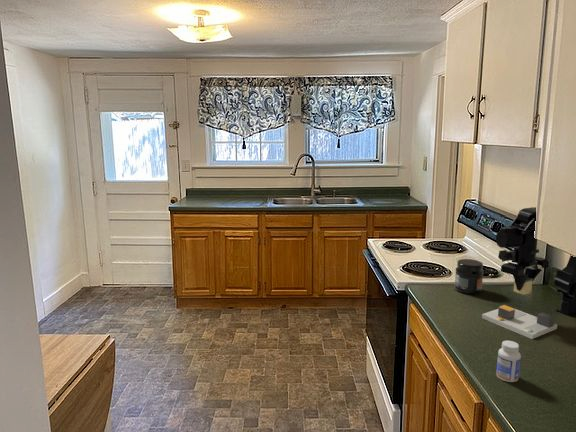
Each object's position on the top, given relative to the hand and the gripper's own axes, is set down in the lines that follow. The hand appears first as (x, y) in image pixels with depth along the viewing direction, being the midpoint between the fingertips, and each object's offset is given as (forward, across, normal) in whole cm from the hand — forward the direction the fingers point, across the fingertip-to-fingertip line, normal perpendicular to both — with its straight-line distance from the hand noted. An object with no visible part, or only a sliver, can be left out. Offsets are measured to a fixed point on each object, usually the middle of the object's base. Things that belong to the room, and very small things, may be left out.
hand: (522, 289), depth 152 cm
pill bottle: (+10, +39, +21) cm, 46 cm away
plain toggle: (+8, +2, +10) cm, 13 cm away
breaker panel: (+10, +6, +3) cm, 12 cm away
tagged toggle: (+8, +8, 0) cm, 12 cm away
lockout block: (+1, 0, 0) cm, 1 cm away
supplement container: (+10, -6, -26) cm, 29 cm away
